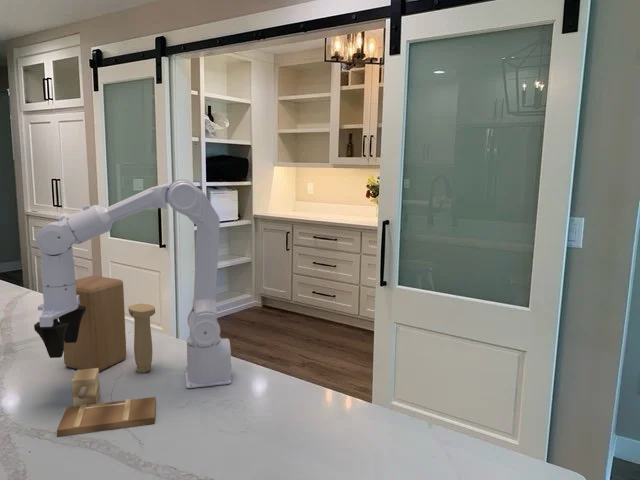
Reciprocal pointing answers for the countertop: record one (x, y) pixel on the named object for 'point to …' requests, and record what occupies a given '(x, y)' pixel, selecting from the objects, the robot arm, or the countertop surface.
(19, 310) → the countertop surface
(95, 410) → the walnut board
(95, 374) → the pale wood holed block
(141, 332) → the handle
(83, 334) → the wooden block
